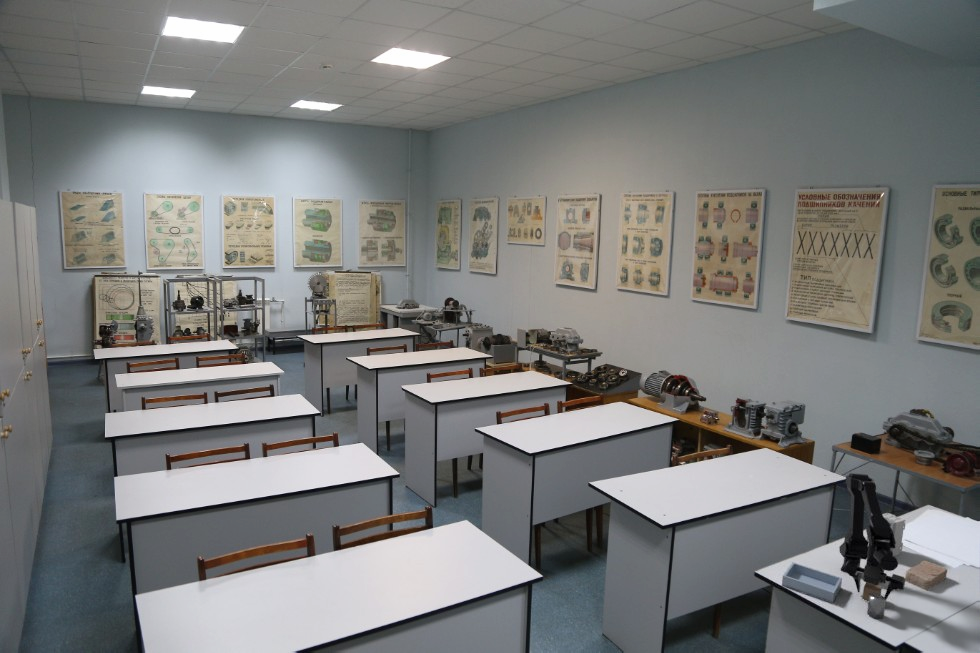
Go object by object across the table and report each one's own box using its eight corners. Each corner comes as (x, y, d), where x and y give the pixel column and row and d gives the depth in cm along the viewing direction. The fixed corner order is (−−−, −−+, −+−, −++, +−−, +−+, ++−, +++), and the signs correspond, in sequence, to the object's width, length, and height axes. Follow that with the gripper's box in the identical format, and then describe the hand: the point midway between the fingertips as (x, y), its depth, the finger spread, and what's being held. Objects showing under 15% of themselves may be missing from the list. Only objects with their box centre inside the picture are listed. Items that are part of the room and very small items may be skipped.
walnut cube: (864, 593, 239) (866, 581, 238) (880, 599, 236) (881, 586, 235) (862, 599, 235) (863, 587, 234) (877, 604, 232) (879, 592, 231)
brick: (927, 591, 242) (928, 580, 241) (903, 581, 249) (904, 569, 248) (946, 579, 251) (948, 568, 250) (923, 570, 258) (924, 559, 257)
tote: (791, 571, 254) (792, 562, 253) (841, 587, 242) (842, 578, 242) (781, 585, 243) (782, 575, 243) (832, 603, 232) (834, 593, 231)
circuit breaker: (862, 551, 271) (866, 518, 269) (884, 545, 277) (888, 512, 275) (879, 559, 265) (884, 525, 262) (901, 553, 270) (906, 519, 268)
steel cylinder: (868, 609, 229) (870, 591, 228) (884, 615, 225) (887, 597, 224) (865, 615, 225) (868, 597, 224) (882, 621, 222) (884, 603, 221)
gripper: (843, 556, 233) (838, 595, 235) (903, 574, 221) (898, 616, 223) (849, 545, 241) (845, 583, 244) (907, 562, 229) (902, 602, 232)
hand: (871, 596), depth 235 cm, fingers open, 8 cm apart
